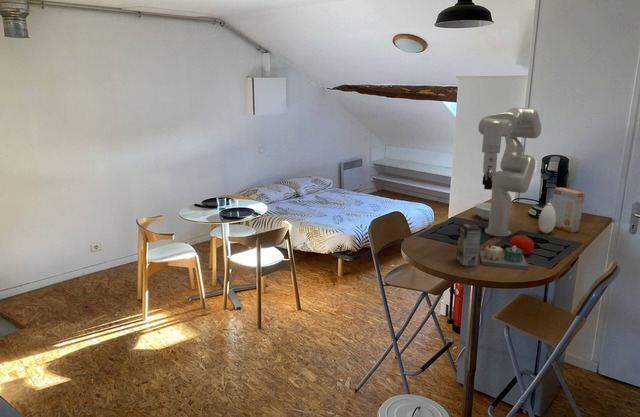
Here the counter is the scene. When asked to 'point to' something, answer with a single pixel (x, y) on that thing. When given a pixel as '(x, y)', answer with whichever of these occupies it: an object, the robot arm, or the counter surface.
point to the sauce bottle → (547, 218)
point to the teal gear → (513, 255)
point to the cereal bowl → (483, 210)
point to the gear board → (500, 258)
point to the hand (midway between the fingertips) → (486, 187)
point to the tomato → (522, 243)
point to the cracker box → (568, 208)
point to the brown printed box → (468, 244)
